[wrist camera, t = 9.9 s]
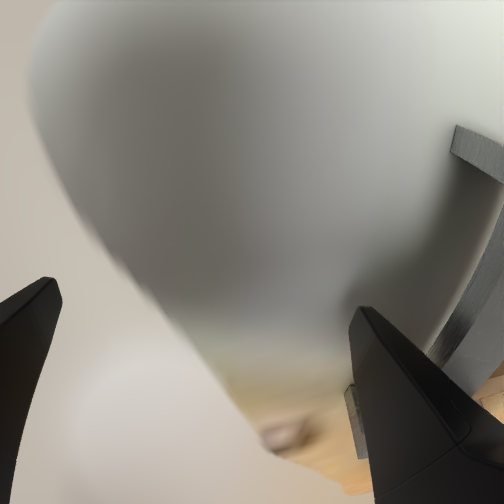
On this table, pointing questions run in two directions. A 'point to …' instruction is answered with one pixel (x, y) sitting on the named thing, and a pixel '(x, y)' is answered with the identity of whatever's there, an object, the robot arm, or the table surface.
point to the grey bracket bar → (466, 301)
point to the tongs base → (492, 384)
